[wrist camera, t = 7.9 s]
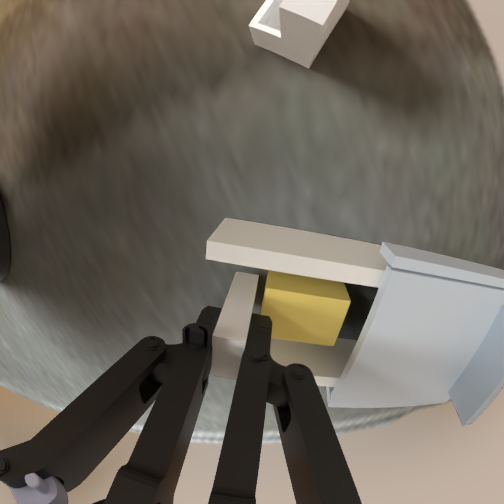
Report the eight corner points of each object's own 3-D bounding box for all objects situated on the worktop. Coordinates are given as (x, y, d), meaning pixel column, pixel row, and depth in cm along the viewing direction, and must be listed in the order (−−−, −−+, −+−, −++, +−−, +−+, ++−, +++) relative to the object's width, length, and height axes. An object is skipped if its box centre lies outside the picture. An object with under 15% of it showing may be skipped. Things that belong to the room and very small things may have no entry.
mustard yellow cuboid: (261, 305, 20) (256, 335, 17) (269, 262, 18) (266, 287, 15) (327, 315, 20) (333, 346, 16) (340, 274, 18) (350, 301, 15)
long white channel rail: (215, 328, 21) (200, 367, 17) (225, 217, 17) (207, 240, 13) (433, 352, 20) (450, 385, 16) (475, 266, 16) (504, 292, 12)
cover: (325, 386, 18) (331, 452, 12) (382, 241, 13) (429, 296, 8) (438, 386, 17) (459, 436, 12) (503, 269, 13) (550, 311, 8)
